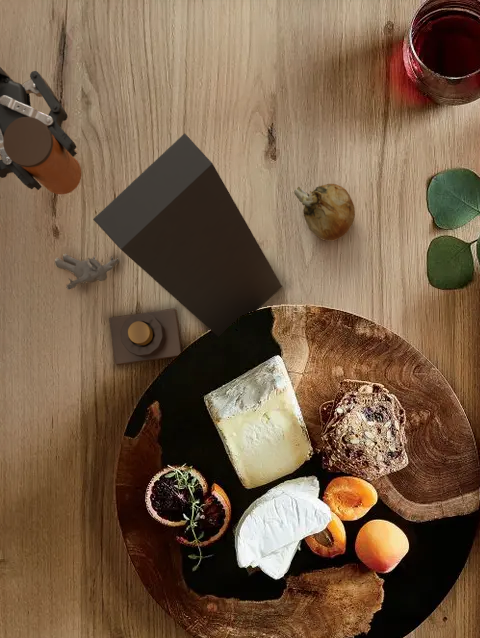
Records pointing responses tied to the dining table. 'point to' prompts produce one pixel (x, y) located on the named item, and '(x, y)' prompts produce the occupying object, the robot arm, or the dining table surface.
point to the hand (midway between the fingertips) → (54, 169)
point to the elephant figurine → (85, 269)
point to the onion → (327, 211)
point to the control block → (159, 347)
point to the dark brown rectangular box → (191, 237)
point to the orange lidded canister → (41, 155)
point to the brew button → (140, 333)
